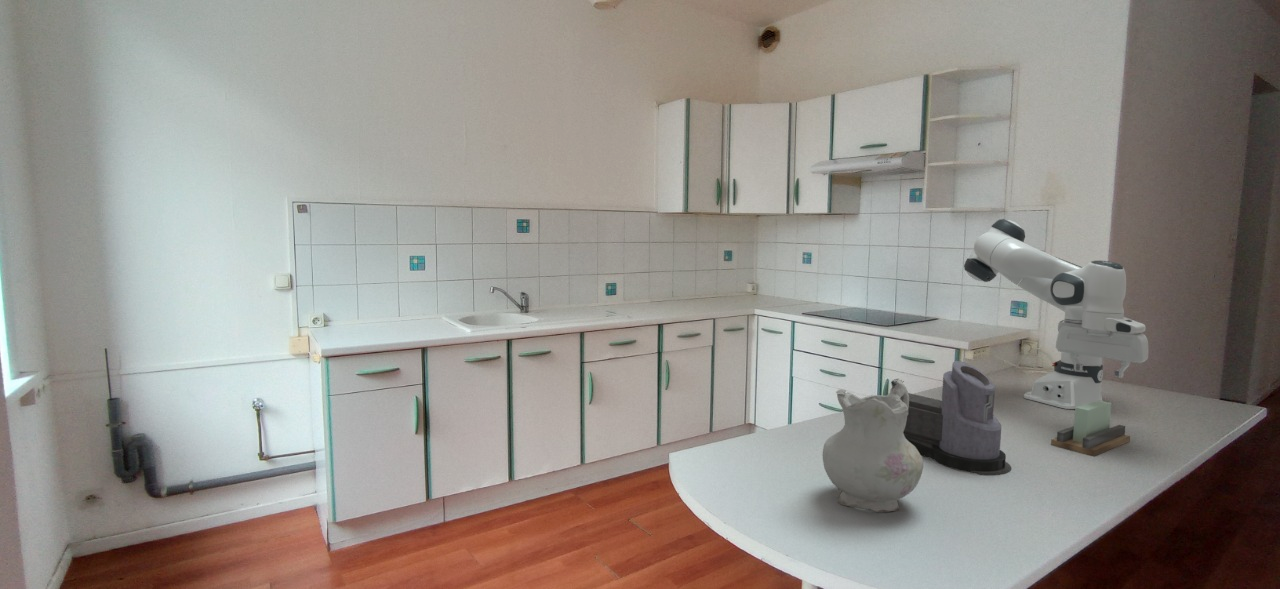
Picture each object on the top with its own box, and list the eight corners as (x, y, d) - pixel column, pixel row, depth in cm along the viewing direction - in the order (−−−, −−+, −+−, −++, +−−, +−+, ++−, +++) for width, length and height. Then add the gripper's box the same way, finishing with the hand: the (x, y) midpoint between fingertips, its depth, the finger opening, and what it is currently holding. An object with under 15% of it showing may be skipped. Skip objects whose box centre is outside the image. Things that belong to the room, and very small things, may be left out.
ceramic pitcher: (849, 478, 146) (845, 372, 145) (939, 494, 133) (935, 378, 132) (809, 509, 129) (804, 389, 128) (908, 531, 117) (903, 399, 115)
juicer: (1023, 466, 152) (1030, 367, 150) (991, 480, 143) (998, 375, 140) (908, 433, 176) (912, 347, 174) (874, 444, 167) (878, 353, 164)
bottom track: (1050, 444, 168) (1052, 430, 167) (1088, 431, 179) (1089, 418, 179) (1093, 456, 159) (1095, 440, 159) (1129, 441, 171) (1131, 427, 171)
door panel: (1072, 440, 167) (1075, 407, 166) (1096, 432, 174) (1098, 400, 173) (1085, 443, 164) (1088, 410, 163) (1108, 435, 172) (1111, 402, 171)
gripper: (1053, 318, 173) (1049, 367, 174) (1143, 328, 156) (1138, 382, 157) (1064, 317, 176) (1060, 365, 178) (1153, 326, 159) (1148, 379, 161)
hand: (1097, 373), depth 167 cm, fingers open, 8 cm apart
